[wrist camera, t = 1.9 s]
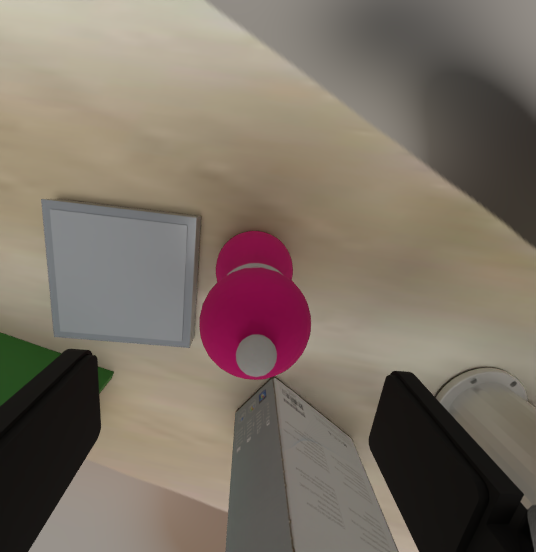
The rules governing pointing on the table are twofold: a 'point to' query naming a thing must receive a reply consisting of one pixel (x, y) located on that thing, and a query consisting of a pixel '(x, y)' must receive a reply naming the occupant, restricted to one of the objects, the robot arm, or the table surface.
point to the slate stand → (121, 272)
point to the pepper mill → (254, 309)
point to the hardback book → (28, 365)
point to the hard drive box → (298, 482)
